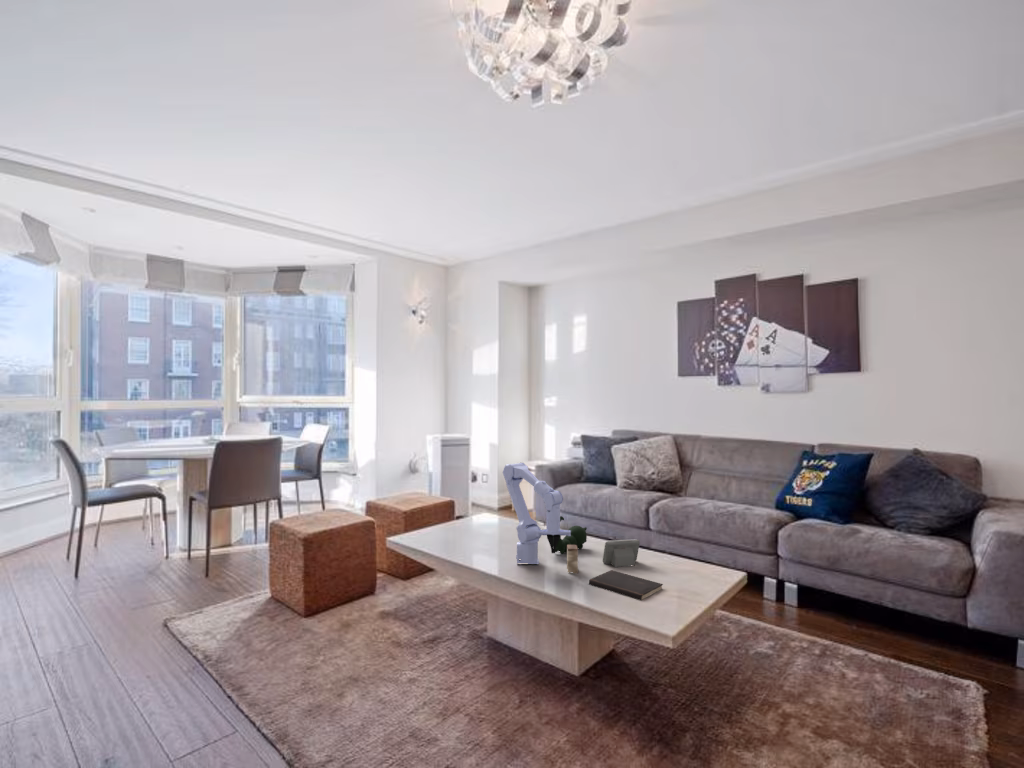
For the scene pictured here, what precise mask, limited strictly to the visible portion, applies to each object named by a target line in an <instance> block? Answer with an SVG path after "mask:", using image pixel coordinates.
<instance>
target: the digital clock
mask: <svg viewBox="0 0 1024 768" xmlns="http://www.w3.org/2000/svg"><path fill="white" fill-rule="evenodd" d="M640 545H641V542H640V540H639V539H634V538H633V539H617V540H606V542H605V543H604V550H603V554H602V555H603V556H602V562H603V564H607V565H608V564H611V563H612V564H613V565H614V566H613V565H612V564H611V565H612V566H613V567H614V568H621V566H625V567H632V566H631V565H636V564H635V562H636V561H637V559H638V556H639V555H638V554H639V548H640Z"/></svg>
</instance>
